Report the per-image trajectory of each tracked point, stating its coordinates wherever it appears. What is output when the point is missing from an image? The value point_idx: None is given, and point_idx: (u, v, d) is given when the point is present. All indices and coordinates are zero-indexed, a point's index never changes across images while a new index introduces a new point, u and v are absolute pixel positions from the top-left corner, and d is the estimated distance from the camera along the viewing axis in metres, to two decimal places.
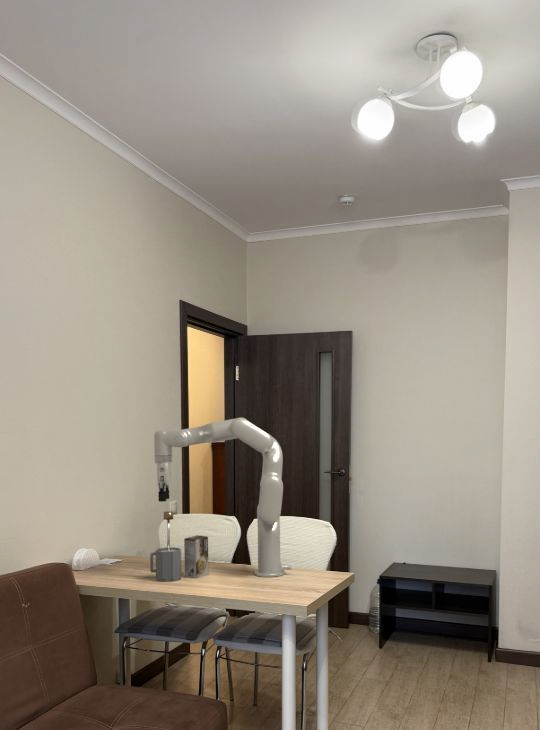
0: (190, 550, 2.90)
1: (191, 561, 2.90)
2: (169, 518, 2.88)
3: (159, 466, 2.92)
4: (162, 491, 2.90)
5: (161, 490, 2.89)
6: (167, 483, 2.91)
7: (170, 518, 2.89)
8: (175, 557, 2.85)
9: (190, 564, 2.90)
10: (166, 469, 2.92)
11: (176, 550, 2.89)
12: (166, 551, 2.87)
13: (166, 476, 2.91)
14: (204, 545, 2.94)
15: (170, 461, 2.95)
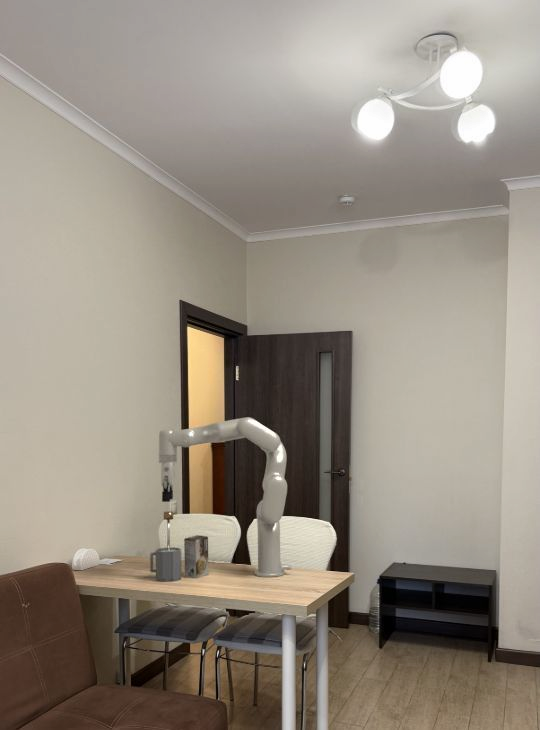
0: (190, 550, 2.90)
1: (191, 561, 2.90)
2: (169, 518, 2.88)
3: (163, 466, 2.88)
4: (166, 491, 2.85)
5: (165, 490, 2.85)
6: (171, 483, 2.87)
7: (170, 518, 2.89)
8: (175, 557, 2.85)
9: (189, 564, 2.90)
10: (170, 469, 2.88)
11: (176, 550, 2.89)
12: (166, 551, 2.87)
13: (170, 476, 2.87)
14: (204, 545, 2.94)
15: (175, 461, 2.91)
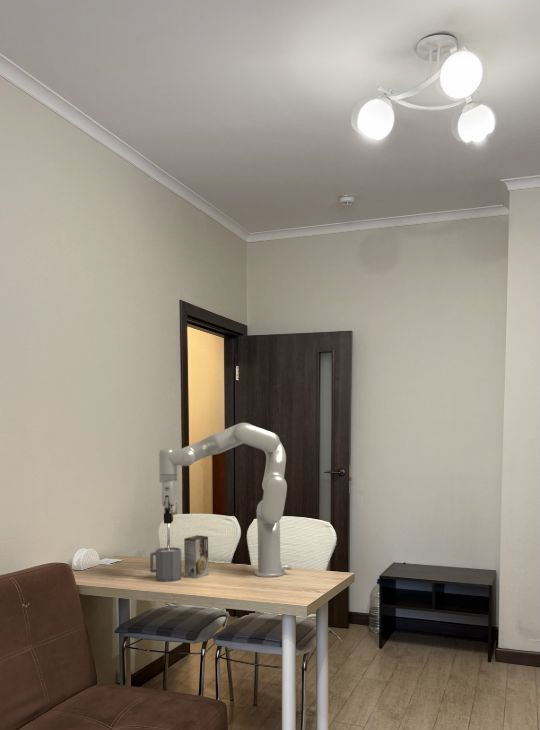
0: (190, 550, 2.90)
1: (191, 561, 2.90)
2: None
3: (164, 485, 2.87)
4: (167, 513, 2.87)
5: (166, 512, 2.87)
6: (172, 503, 2.86)
7: None
8: (175, 557, 2.85)
9: (189, 564, 2.90)
10: (171, 488, 2.87)
11: (176, 550, 2.89)
12: (166, 551, 2.87)
13: (171, 495, 2.86)
14: (204, 545, 2.94)
15: (175, 480, 2.90)
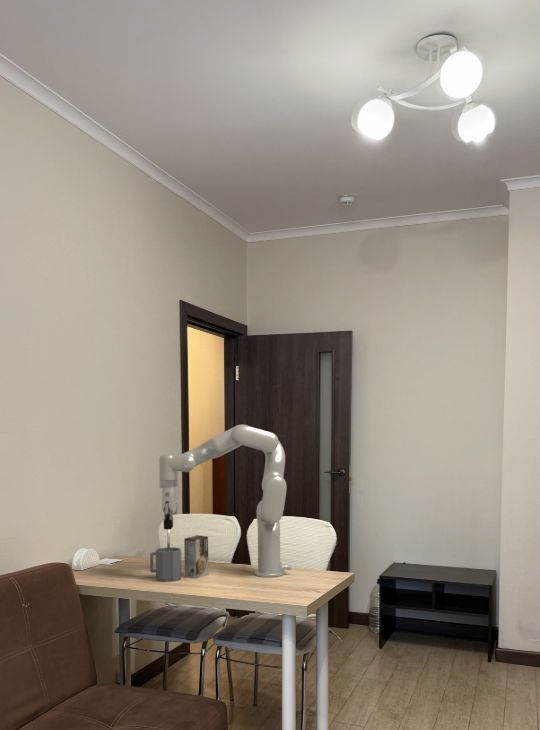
0: (190, 550, 2.90)
1: (191, 561, 2.90)
2: None
3: (164, 491, 2.87)
4: (168, 519, 2.87)
5: (166, 518, 2.86)
6: (172, 508, 2.86)
7: None
8: (175, 557, 2.85)
9: (189, 564, 2.90)
10: (171, 494, 2.87)
11: None
12: None
13: (171, 501, 2.86)
14: (204, 545, 2.94)
15: (175, 486, 2.90)
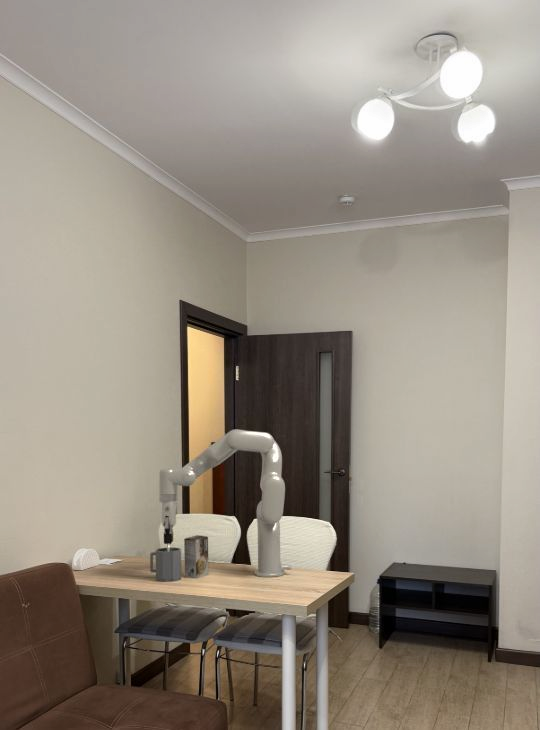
0: (190, 550, 2.90)
1: (191, 561, 2.90)
2: None
3: (164, 505, 2.86)
4: (168, 534, 2.86)
5: (167, 532, 2.86)
6: (172, 523, 2.85)
7: None
8: (175, 557, 2.85)
9: (189, 564, 2.90)
10: (171, 509, 2.86)
11: None
12: None
13: (171, 516, 2.86)
14: (204, 545, 2.94)
15: (175, 500, 2.89)
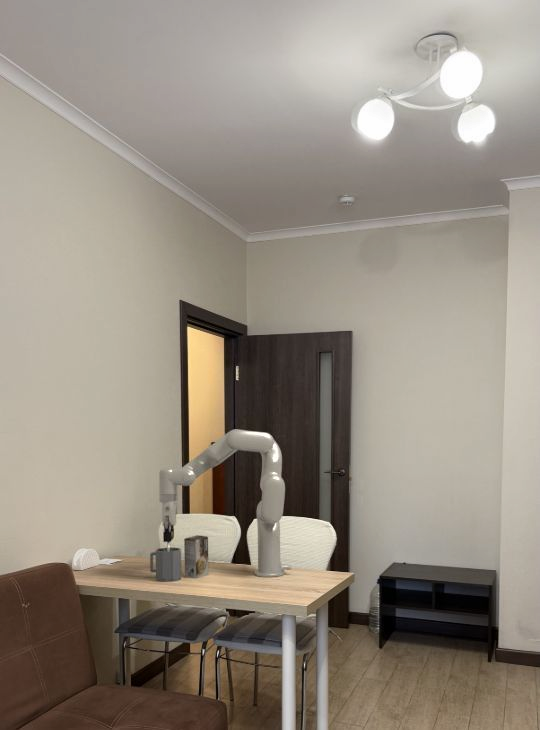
0: (190, 550, 2.90)
1: (191, 561, 2.90)
2: None
3: (164, 505, 2.86)
4: (167, 531, 2.84)
5: (166, 530, 2.83)
6: (172, 523, 2.85)
7: None
8: (175, 557, 2.85)
9: (189, 564, 2.90)
10: (171, 508, 2.86)
11: None
12: None
13: (171, 516, 2.86)
14: (204, 545, 2.94)
15: (175, 500, 2.89)
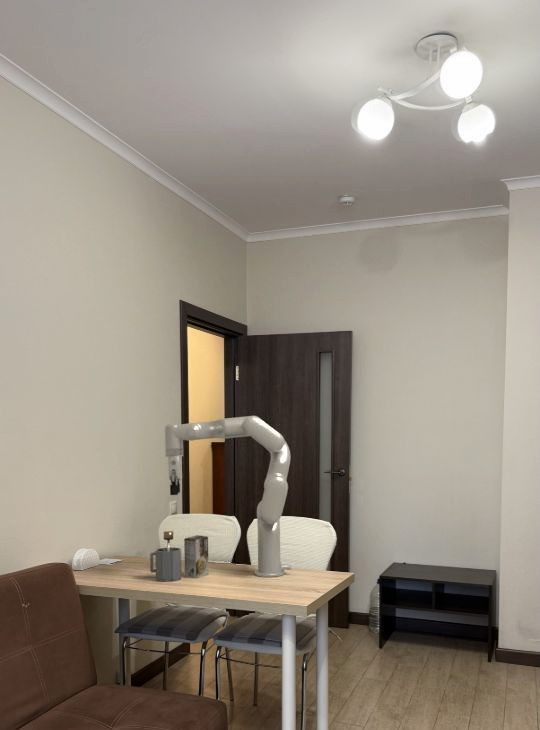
0: (190, 550, 2.90)
1: (191, 561, 2.90)
2: (169, 538, 2.88)
3: (170, 459, 2.91)
4: (174, 484, 2.88)
5: (173, 483, 2.88)
6: (179, 476, 2.90)
7: (170, 538, 2.88)
8: (175, 557, 2.85)
9: (189, 564, 2.90)
10: (178, 462, 2.90)
11: None
12: None
13: (178, 469, 2.90)
14: (204, 545, 2.94)
15: (181, 454, 2.94)
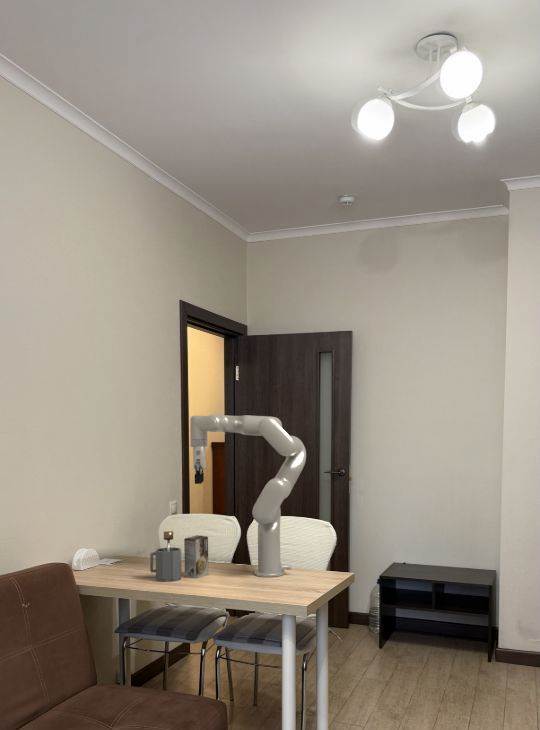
0: (190, 550, 2.90)
1: (191, 561, 2.90)
2: (169, 538, 2.88)
3: (195, 449, 3.02)
4: (198, 474, 2.99)
5: (197, 473, 2.99)
6: (203, 466, 3.01)
7: (170, 538, 2.88)
8: (175, 557, 2.85)
9: (189, 564, 2.90)
10: (202, 452, 3.01)
11: None
12: None
13: (202, 459, 3.01)
14: (204, 545, 2.94)
15: (206, 445, 3.05)
